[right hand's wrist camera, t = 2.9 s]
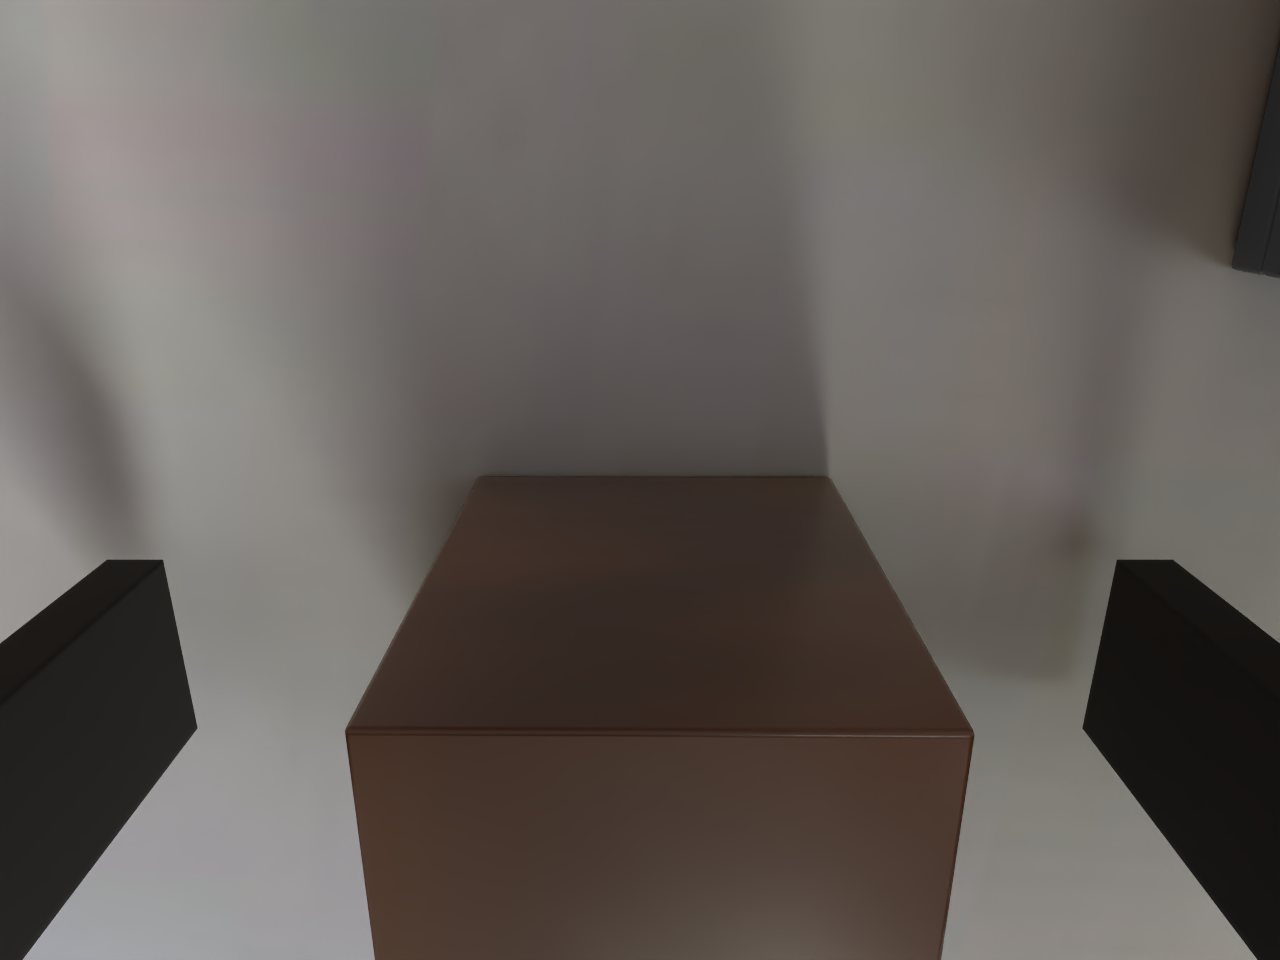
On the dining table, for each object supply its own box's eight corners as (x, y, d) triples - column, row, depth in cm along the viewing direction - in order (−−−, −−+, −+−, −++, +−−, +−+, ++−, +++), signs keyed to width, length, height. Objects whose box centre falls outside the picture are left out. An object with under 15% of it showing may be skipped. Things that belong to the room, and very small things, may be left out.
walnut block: (831, 476, 13) (978, 732, 7) (808, 770, 14) (912, 1168, 9) (478, 475, 13) (341, 728, 7) (496, 769, 14) (399, 1163, 9)
